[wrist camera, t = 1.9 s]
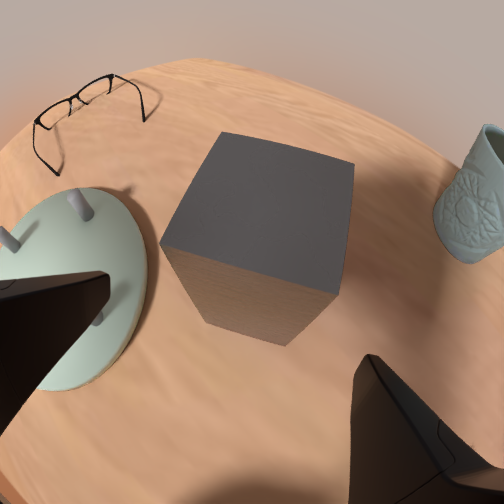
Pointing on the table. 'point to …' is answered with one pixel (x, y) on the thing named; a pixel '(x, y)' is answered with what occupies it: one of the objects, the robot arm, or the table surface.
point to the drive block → (262, 236)
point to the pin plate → (83, 260)
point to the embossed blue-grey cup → (475, 201)
